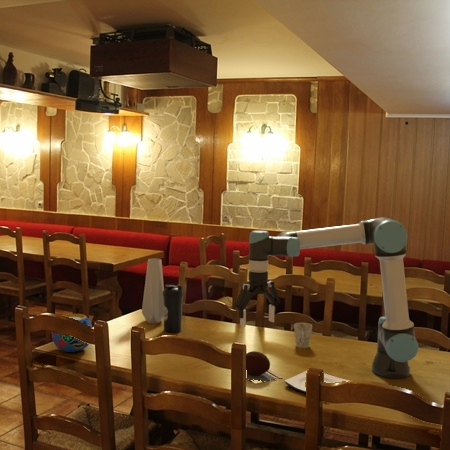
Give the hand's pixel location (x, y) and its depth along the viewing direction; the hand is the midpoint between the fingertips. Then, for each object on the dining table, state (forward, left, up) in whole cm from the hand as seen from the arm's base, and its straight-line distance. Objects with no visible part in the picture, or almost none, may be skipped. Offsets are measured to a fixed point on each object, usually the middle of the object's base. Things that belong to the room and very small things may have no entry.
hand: (257, 323), depth 223 cm
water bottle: (+69, +3, -21) cm, 72 cm away
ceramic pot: (+62, +55, -21) cm, 85 cm away
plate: (-20, -15, -22) cm, 33 cm away
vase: (+88, +5, -21) cm, 90 cm away
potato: (0, 0, -21) cm, 21 cm away
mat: (0, 0, -21) cm, 21 cm away
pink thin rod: (0, -7, -21) cm, 22 cm away
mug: (+19, -39, -21) cm, 48 cm away
